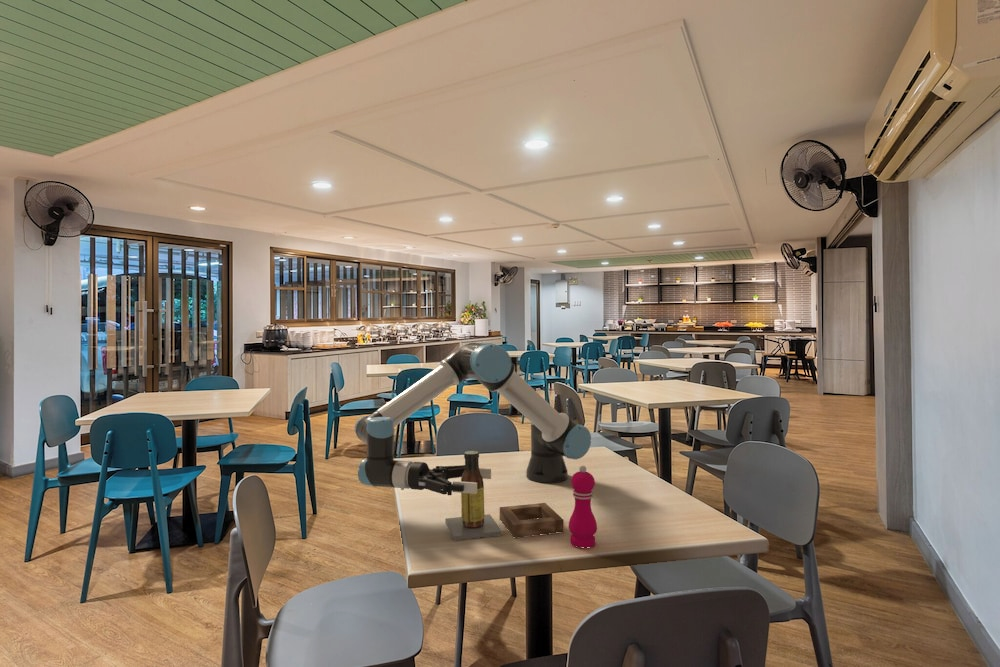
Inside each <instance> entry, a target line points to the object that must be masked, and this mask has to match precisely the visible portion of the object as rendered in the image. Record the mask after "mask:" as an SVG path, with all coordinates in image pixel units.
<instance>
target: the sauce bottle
mask: <svg viewBox="0 0 1000 667" xmlns="http://www.w3.org/2000/svg"><path fill="white" fill-rule="evenodd" d="M463 456H464V457H463V458H464V465H465V470H464V472H463V474H462V477H460V481H461V482H474V483H477V494H471V493H461V495H460V498H461V500H460V501H461V502H460V503H461V517H462V522H463V525H464V526H466V527H469V528H477V527H481V526H482V525H483V524H484V515H485V491H484V490H485V486H484V485H485V484H484V479H483V478H482V476H481V474H480V471H479V468H480V466H479V462H480V461H479V459H480V458H479V457H480V452H479V451H477V450H466V451H465V452H464V454H463Z"/></svg>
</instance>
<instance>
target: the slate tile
mask: <svg viewBox="0 0 1000 667" xmlns="http://www.w3.org/2000/svg"><path fill="white" fill-rule="evenodd" d="M444 522H445V525H446V527H448V528H447V530H448V529H449V530H448V531H450V532H449V534H450V536H451V538H453V539H452V541H453V540H458V541H464V540H463V539H467V540H473V539H472V538H476V539H481V538H480V537H485V538H491V537H490V536H494V537H499V536H498V535H502V536H503V531H502V529H501V527H500V525H498V523H497V522H496V521H495V519H494V517H493V516H492V515H491V514H490V513H488V514H487V513H485V514H484V524H483V525H482V526H481V527H477V528H469V527H466V526H464V525H463V522H462V516H459V517H447V518H445V519H444Z"/></svg>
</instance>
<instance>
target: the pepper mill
mask: <svg viewBox="0 0 1000 667" xmlns="http://www.w3.org/2000/svg"><path fill="white" fill-rule="evenodd" d="M570 485H571V487H572V488H573V490H572V493H573V494H572V496H573V498H574V508H573V511H572V513H571V516H570V518H569V521H568V531H569V532H570V533H571V535H570V537H569V538H570V542H571V543H570V542H569V543H570V544H572V545H571V546H573V545H574V546H577V547H584V548H587V547H592V546H594V545H595V546H596V537H595V536H594V535H596V533H597V531H598V524H597V519H596V518H595V517H596V516H595V515H594V512H593V510H592V507H591V506H592V503H591V502H592V501H591V500H592V498H593V497H594V496H593V494H594V491H593V489H594V487H595V485H596V480H595V477H594V476H593V474H592V473H590V472H588V471H587V467H586V466H585V465H581V466H580V467H579V471H576V472H575V473H573V475H572V476H571V479H570ZM574 546H573V547H574ZM595 546H594V547H595ZM577 547H576V548H577ZM592 548H593V547H592Z"/></svg>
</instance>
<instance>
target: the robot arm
mask: <svg viewBox="0 0 1000 667" xmlns="http://www.w3.org/2000/svg"><path fill="white" fill-rule="evenodd" d="M469 379H473V380H474V379H475V380H477V381H478V382H479V383H480V384H481V385H483V387H485V388H486V389H487V390H488V391H489V392H497V393H498V394H500V396H502V397H503V398H504V399H505V400H506V401H507V402H508V403H510V405H512V406H513V408H515V409H516V410H517V411H518V412H519V413H521V415H522V416H524V417H525V418H526V419H527V420H528V421H529V422H530V447H531V448H530V452H531V453H530V459H529V461H528V465H527V467H526V472H525V476H526V478H527V479H528V480H531V481H533V482H537V483H545V484H546V483H560V482H564V481H565V480H568V477H569V476H568V475H569V474H568V472H569V471H568V469H567V465H566V462H565V459H564V457H565V458H566V459H570V460H578V459H582V458H583V457H584V456H586V454H587V453H588V451H589V450H590V447H591V444H592V441H591V440H592V435H591V431H590V430H589V429H588V428H587V427H586V426H584V425H583V424H578V423H577V422H576V421H574V419H572V418H571V417H570V415H568V414H567V413H565V412H558V410H556V409H555V408H554V407H553V406H552V405H551V404H550V403H549V402H548V401H547V400H546V399H545V398H544V397H542V395H541V394H539V392H537V391H536V390H535V389H534V388H533V387H532V386H531V385H530V384H529V383H528V382H527V381H526V380H525V379H524V378H522V376H520V375H519V374H518V373H517V372H516V365H515V364H514V363H513V362H512V360H511V357H510V354H509V353H508V352H507V350H506V349H504V347H502V346H500V345H497V344H496V343H490V342H489V343H488V342H486V343H481V342H470V343H466V344H464V345H462V346H460V347H459V348H458V349H456V350H455V351H453V352H452V353H450V354H448V355H447V356H446V357H445V358H443V359H442V360H441V361H440V363H439V366H438V367H436V368H434V369H433V370H432V371H430V372H428V373H427V374H426V375H425V376H424V377H422V378H421V379H420V380H418V381H416V382H415V383H413V384H412V385H411V386H409V387H408V388H407V389H405V390H403V392H401V393H400V394H398V395H396V396H395V397H393V398H392V399H391V400H390V401H388V402H386V404H384V405H383V406H381V407H380V408H378V409H377V410H375V411H374V412H373V413H371V414H369V415H365V416H361V417H360V418H358V419H357V421H356V422H355V424H354V433H355V435H356V437H357V438H358V439H359V440H360V441H362V442H363V443H364V444H365V445H366V458H364V459H363V460H361V461H360V463H359V465H358V470H357V477H358V481H359V483H361V485H365V486H369V487H370V486H371V487H375V488H379V487H380V488H381V487H382V488H393V489H394V488H395V489H396V488H397V489H400V490H401V491H404V490H405V489H407V490H409V489H410V490H415V491H416V490H417V491H423V490H428V491H431V492H435V493H437V494H441V495H447V496H452V494H453V493H471V494H477V483H474V482H461V480H460V481H459V480H453V481H450V480H449V479H456V478H461V477H462V474H463V472H464V470H465V464H463V465H447V466H446V465H445V466H444V465H443V466H441V465H437V466H435V468H432V469H430V468H429V465H428V464H427V463H426V462H422V461H412V460H408V461H407V460H395V459H394V458H395V454H394V453H395V452H394V450H395V449H394V448H395V445H394V444H395V442H394V441H395V427H397V426H398V425H399V424H401V423H402V422H404V421H405V420H407V419H408V418H409V417H411V416H412V415H414V413H416V412H418V411H419V410H420V409H421V408H423V407H425V406H426V405H427V404H429V402H431V401H432V400H433V399H435V398H437V397H438V396H440V395H441V394H442V393H444V392H445V391H446V390H447V389H449V388H450V387H452V386H453V385H456V386H458V385H460V384H461V383H462V382H464V381H467V380H469ZM479 471H480V474H481V476H482V478H483V480H484V479H485V480H491V479H492V468H484V467H479Z"/></svg>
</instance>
